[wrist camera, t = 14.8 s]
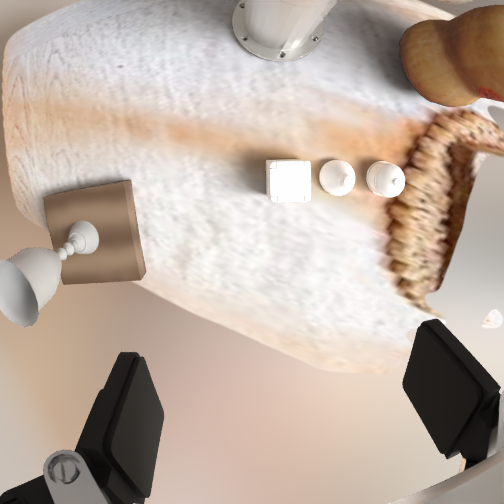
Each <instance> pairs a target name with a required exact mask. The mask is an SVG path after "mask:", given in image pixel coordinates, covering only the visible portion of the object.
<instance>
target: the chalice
mask: <svg viewBox="0 0 504 504" xmlns="http://www.w3.org/2000/svg"><path fill="white" fill-rule="evenodd" d="M98 243H99V236H98V233H97V230H96V229H95V227H94V226H93V225H92V224H91V223H89V222H87V221H78V222H76V223H75V224H74V225H73V226H72V228H71V230H70V233H69V236H68V242H66V243H65V244H64V246H63V248H59V249H58V250H57V253H56V252H55V251H53V250H50V249H45V248H26V249H23V250H21V251H20V252H18V253H17V254H15V255H14V256H12V257H11V258H9V259H8V260H6V261H5V260H0V310H1V311H2V312H3V314H4V315H5V316H6V317H7V318H8V319H10V320H11V321H12V322H14V323H15V324H17V325H20V326H24V327H28V326H32V325H33V324H34V323H35V322H36V321H37V317H38V314H39V310H40V309H41V308H42V307H43V306H44V305H45V304H46V303H47V302H48V301H49V300H50V299H51V298H52V297H53V296H54V294H55V291H56V289H57V286H58V283H59V280H60V275H61V268H62V261H61V260H65V259H66V258H67V255H72V254H73V253H74V252H75V253H78V254H90V253H93V252H94V251H95V250H96V249H97V247H98Z"/></svg>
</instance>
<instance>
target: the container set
mask: <svg viewBox="0 0 504 504" xmlns="http://www.w3.org/2000/svg"><path fill="white" fill-rule="evenodd" d="M266 165H267V166H266V189H267V197H268V199H269V200H270V202H303V201H310V198H311V195H309V194H311V168H309V167H311V164H310V161H307V160H301V159H297V160H296V159H286V160H266ZM319 181H320V184H321V186H322V187H323V189H324V190H325V191H327V192H328V193H330V194H332V195H336V196H341V195H344V194H346V193H348V192H349V191H350V190H351V189H352V187H353V186H354V183H355V173H354V171H353V168H352V167H351V166H350V165H349V164H348V163H346V162H344V161H341V160H331V161H328V162H327V163H325V164H324V165H323V167H322V168H321V170H320V173H319ZM366 181H367V185H368V187H369V189H370V190H371V191H372V192H373V193H375V194H377V195H380V196H384V197H394V196H397V195H398V194H400V193H401V191H402V190H403V188H404V185H405V177H404V174H403V172H402V170H401V169H400V168H399V167H398V166H396V165H394V164H392V163H388V162H385V161H378V162H375V163H373V164H372V165H371V166H370V167H369V169H368V171H367V175H366Z"/></svg>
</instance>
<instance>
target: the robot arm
mask: <svg viewBox="0 0 504 504" xmlns="http://www.w3.org/2000/svg"><path fill="white" fill-rule="evenodd" d="M338 1H339V0H240V1H239V3H238V4H237V6H236V7H235V10H234V13H233V18H232V25H233V30H234V33H235V36H236V37H237V39H238V41H239V42H240V43H241V44H242V46H243V47H244V48H245V49H247V50H248V51H249V52H251V53H252V54H254V55H256V56H258V57H261V58H263V59H266V60H271V61H280V62H286V61H293V60H296V59H300V58H302V57H304V56H306V55H308V54H309V53H310V52H312V51H313V50H314V49H315V48H316V47H317V45H318V44H319V43H320V41H321V39H322V36H323V31H324V24H323V19H324V18H325V17H326V16H327V14H328V13H329V12H330V11H331V9H332V8H333V7H334V6H335V5H336V3H337V2H338ZM439 1H441V2H445V3H449V4H465V3H468V2H471V1H473V0H439ZM241 7H244V8H241ZM243 39H247V40H246V41H244V40H243ZM313 39H314V40H315V41H313ZM280 55H283V58H282V57H280ZM402 383H403V384H402V385H403V389H404V391H405V393H406V394H407V396H408V397H409V399H410V401H411V402H412V404H413V406H414V408H415V409H416V411H417V413H418V414H419V416H420V418H421V420H422V422H423V423H424V425H425V427H426V429H427V430H428V432H429V434H430V436H431V438H432V439H433V441H434V443H435V445H436V447H437V448H438V450H439V452H440V453H441V454H444V455H445V457H446V459H449V458H451V457H453V456H455V455H457V454H459V453H461V455H462V461H461V465H460V469H459V473H458V474H457V475H455V476H453V477H451V478H449V479H447V480H445V481H442V482H440V483H438V484H436V485H434V486H431V487H429V488H427V489H424V490H422V491H420V492H417V493H414V494H412V495H409V496H407V497H404V498H401V499H398V500H396V501H393V502H390V503H387V504H504V391H503V393H502V394H500V393H499V390H500V388H501V387H500V386H499V385H498V383H497V382H496V381H495V380H494V379H493V378H492V377H491V375H490V374H489V373H488V372H487V371H486V370H485V369H484V367H483V366H482V365H481V364H480V363H479V362H478V361H477V360H476V359H475V357H474V356H472V354H471V353H470V352H469V351H468V350H467V349H466V348H465V347H464V345H463V344H462V343H461V342H460V341H459V340H458V339H457V338H456V337H455V336H454V335H453V334H452V333H451V332H450V331H449V330H448V329H447V328H446V327H445V325H444V324H443V323H442V322H441V321H440V320H438V319H432V320H428V321H424V322H422V323H421V325H420V327H418V329H417V332H416V336H415V340H414V344H413V348H412V351H411V355H410V358H409V362H408V365H407V368H406V372H405V375H404V378H403V382H402ZM163 421H164V411H163V408H162V405H161V403H160V400H159V397H158V395H157V392H156V390H155V387H154V384H153V381H152V379H151V376H150V373H149V370H148V367H147V364H146V361H145V359H144V357H140V356H139V354H138V353H137V352H121V353H120V354H119V355H118V357H117V360H116V362H115V364H114V366H113V368H112V371H111V373H110V375H109V377H108V380H107V382H106V384H105V386H104V389H102V390H100V391H99V393H98V395H97V397H96V400H95V402H94V404H93V407H92V409H91V411H90V414H89V416H88V419H87V421H86V423H85V426H84V429H83V431H82V433H81V436H80V438H79V441H78V444H77V446H76V449H75V451H71V450H60V451H56V452H55V453H53V454H51V455H50V456H49V458H47V460H46V462H45V463H44V468H43V472H44V475H42V476H39V477H37V478H35V479H33V480H31V481H28V482H26V483H24V484H22V485H19V486H17V487H14V488H12V489H10V490H7V491H6V492H4V493H3V494H2V495H1V496H0V504H133V503H136V504H144V501H145V498H149V496H150V494H151V488H152V482H153V476H154V469H155V464H156V458H157V452H158V447H159V442H160V436H161V431H162V426H163Z"/></svg>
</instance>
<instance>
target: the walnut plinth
mask: <svg viewBox="0 0 504 504" xmlns="http://www.w3.org/2000/svg"><path fill="white" fill-rule="evenodd" d="M43 200H44V206H45V212H46V217H47V222H48V227H49V231H50V236H51V240H52V244H53V248H54V251H55V252H56V253H57V250H58V249H59V248H63V246H64V244H65V243H66V242H68V236H69V233H70V230H71V228H72V226H73V225H74V224H75V223H76V222H78V221H87V222H89V223H91V224H92V225H93V226H94V227H95V229H96V230H97V233H98V236H99V243H98V247H97V249H96V250H95V251H94V252H93V253H90V254H78V253H75V252H74V253H73V254H72V255H67V258H66V259H65V260H61V261H62V268H61V278H62V282H63V284H64V285H66V284H86V283H103V282H120V281H136V280H141V279H142V278H143V276H144V275H145V273H146V268H145V263H144V258H143V253H142V247H141V242H140V236H139V230H138V224H137V218H136V212H135V205H134V198H133V191H132V183H131V180H127V181H121V182H115V183H109V184H103V185H97V186H92V187H86V188H81V189H76V190H71V191H66V192H61V193H57V194H52V195H50V196H47V197H44V198H43Z"/></svg>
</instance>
